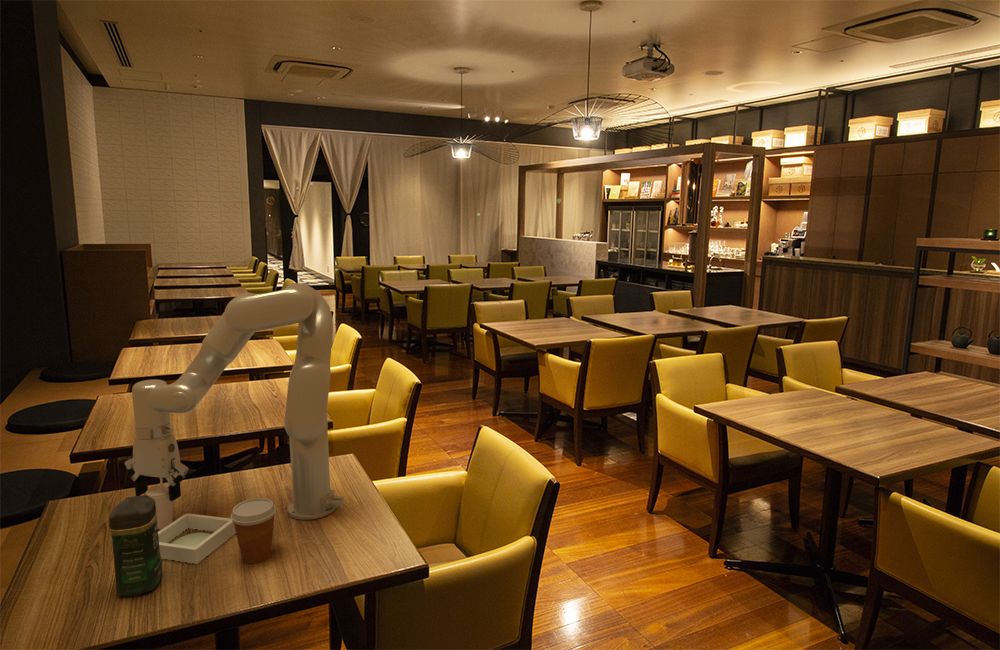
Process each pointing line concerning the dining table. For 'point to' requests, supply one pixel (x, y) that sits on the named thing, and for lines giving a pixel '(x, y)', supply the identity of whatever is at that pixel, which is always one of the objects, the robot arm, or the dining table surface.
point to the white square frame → (190, 554)
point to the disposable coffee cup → (254, 528)
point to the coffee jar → (135, 545)
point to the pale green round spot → (191, 539)
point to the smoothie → (162, 504)
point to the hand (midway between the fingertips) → (158, 496)
